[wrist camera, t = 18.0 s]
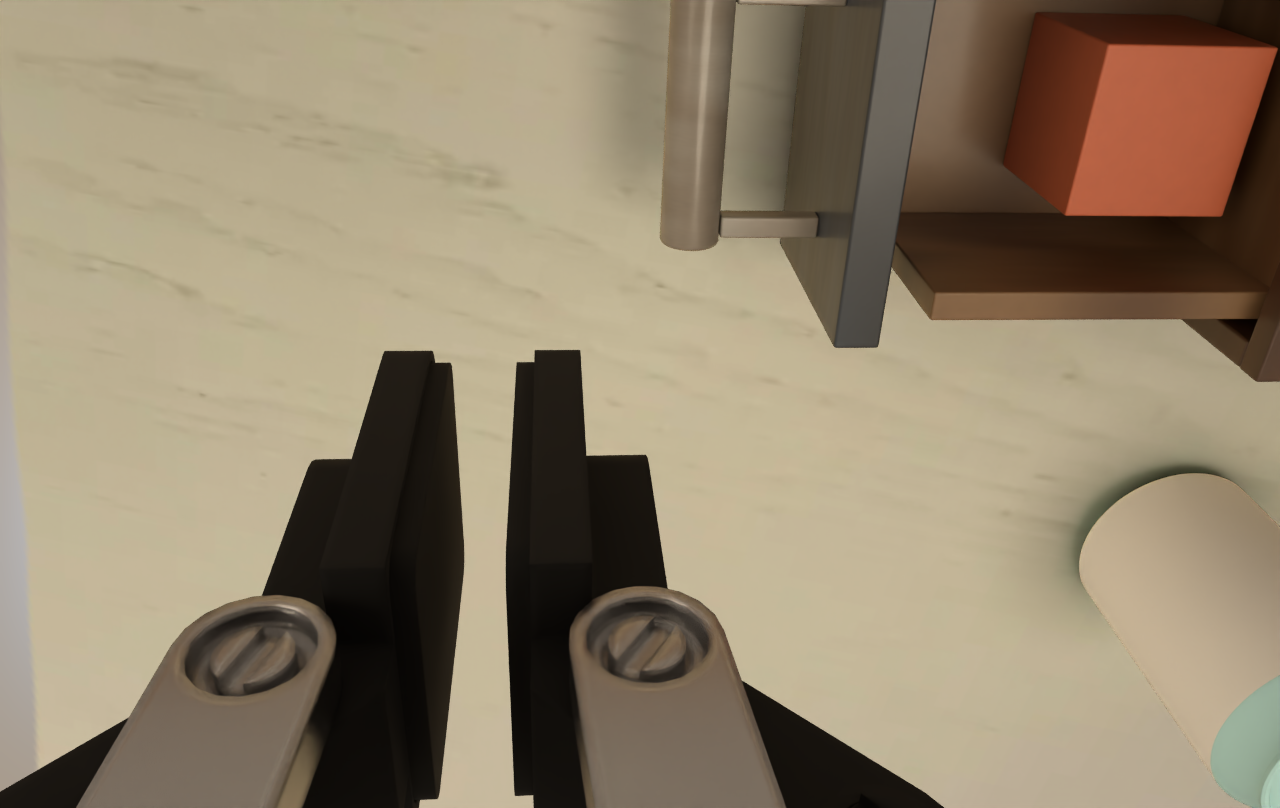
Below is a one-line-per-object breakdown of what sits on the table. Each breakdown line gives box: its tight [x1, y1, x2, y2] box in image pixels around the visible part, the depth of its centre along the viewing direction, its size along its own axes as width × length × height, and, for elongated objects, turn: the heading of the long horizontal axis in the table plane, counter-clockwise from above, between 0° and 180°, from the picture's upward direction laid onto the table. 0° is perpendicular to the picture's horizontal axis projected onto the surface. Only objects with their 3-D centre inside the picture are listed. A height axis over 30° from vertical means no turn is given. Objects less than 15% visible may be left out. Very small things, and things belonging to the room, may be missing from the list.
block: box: [1003, 12, 1278, 217], centre depth 28 cm, size 4×4×4 cm
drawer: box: [660, 0, 1280, 348], centre depth 28 cm, size 17×10×7 cm, turn 88°
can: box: [1079, 473, 1280, 808], centre depth 36 cm, size 7×7×12 cm
